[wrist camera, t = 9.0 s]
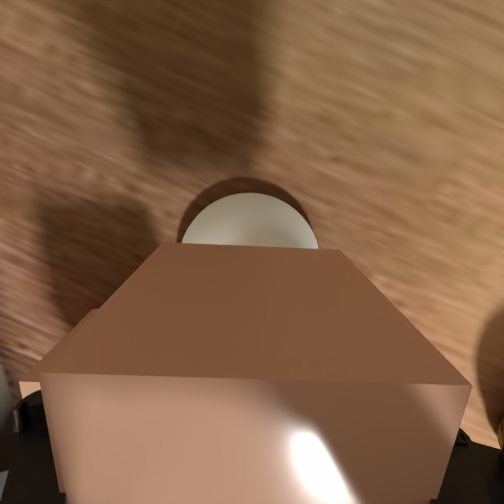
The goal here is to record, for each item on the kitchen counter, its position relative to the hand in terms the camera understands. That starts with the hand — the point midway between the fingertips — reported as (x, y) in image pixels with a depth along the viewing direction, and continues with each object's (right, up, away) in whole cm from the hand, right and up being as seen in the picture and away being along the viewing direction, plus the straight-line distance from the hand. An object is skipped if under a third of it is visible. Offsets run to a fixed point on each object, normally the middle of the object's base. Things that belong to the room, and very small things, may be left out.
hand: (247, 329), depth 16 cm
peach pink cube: (0, 0, 0) cm, 0 cm away
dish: (0, +3, +10) cm, 10 cm away
